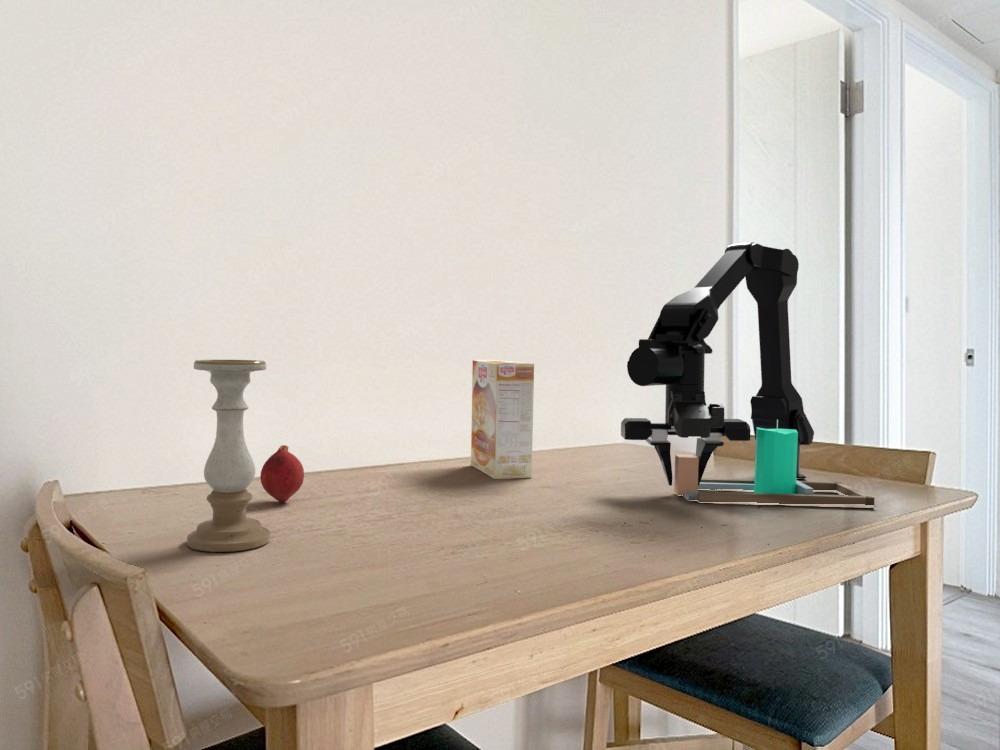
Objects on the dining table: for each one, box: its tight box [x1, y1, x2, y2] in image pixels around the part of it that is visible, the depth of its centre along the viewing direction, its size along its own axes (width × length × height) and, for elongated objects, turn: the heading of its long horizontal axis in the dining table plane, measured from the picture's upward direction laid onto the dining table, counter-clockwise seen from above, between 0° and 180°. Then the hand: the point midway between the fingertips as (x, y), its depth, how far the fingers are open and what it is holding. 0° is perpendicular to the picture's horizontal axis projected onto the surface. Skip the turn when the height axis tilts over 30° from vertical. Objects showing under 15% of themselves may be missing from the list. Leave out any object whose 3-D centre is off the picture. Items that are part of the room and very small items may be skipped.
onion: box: [260, 444, 305, 503], centre depth 111 cm, size 6×6×8 cm
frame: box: [673, 454, 814, 501], centre depth 122 cm, size 10×19×6 cm, turn 88°
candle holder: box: [186, 359, 271, 553], centre depth 89 cm, size 9×9×20 cm
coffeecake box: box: [470, 359, 535, 480], centre depth 140 cm, size 15×7×20 cm, turn 17°
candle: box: [754, 419, 798, 494], centre depth 122 cm, size 6×6×12 cm
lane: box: [698, 477, 875, 506], centre depth 122 cm, size 13×25×2 cm, turn 88°
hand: (683, 485), depth 123 cm, fingers open, 4 cm apart
